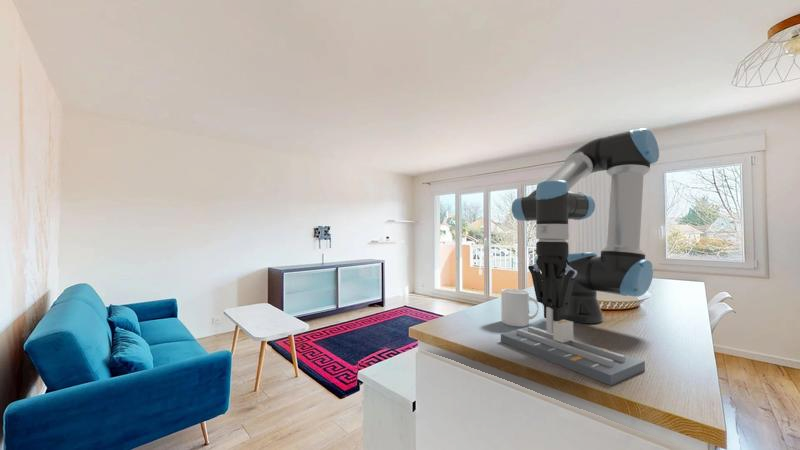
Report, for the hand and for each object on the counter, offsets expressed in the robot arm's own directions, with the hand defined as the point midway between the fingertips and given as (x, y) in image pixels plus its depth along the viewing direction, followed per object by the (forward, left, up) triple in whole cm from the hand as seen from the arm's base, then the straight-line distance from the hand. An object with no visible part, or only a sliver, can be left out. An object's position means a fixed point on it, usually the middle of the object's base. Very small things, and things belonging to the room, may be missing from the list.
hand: (552, 332), depth 79 cm
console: (0, +3, -5) cm, 6 cm away
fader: (0, +3, -2) cm, 4 cm away
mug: (-12, -20, -5) cm, 24 cm away
